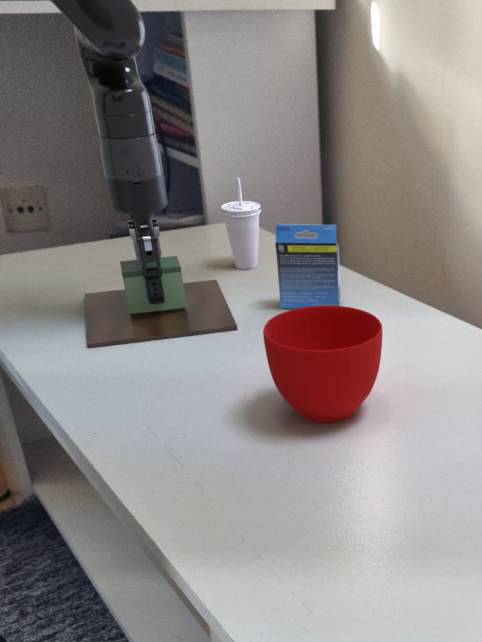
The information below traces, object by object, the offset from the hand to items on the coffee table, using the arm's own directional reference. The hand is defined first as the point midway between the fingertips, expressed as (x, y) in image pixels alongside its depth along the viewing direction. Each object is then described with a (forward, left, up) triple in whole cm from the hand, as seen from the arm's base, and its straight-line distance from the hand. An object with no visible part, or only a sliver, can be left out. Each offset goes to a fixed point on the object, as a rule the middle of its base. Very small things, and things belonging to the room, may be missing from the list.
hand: (155, 295), depth 116 cm
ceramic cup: (+17, -35, -3) cm, 39 cm away
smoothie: (+16, +17, -3) cm, 24 cm away
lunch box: (0, 0, -1) cm, 1 cm away
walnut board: (0, 0, -3) cm, 3 cm away
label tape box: (+22, -4, -3) cm, 23 cm away
